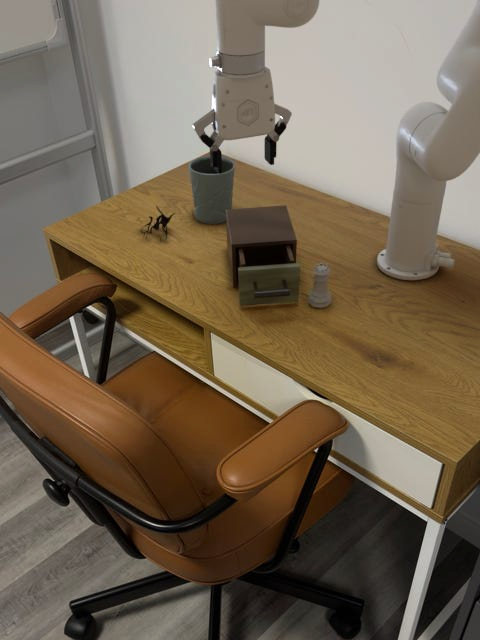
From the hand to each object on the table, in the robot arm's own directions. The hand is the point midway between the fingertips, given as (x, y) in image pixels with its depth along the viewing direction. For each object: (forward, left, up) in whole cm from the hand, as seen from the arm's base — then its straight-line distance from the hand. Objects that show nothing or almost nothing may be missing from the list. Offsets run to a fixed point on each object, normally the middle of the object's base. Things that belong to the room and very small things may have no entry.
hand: (243, 166), depth 124 cm
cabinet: (0, -8, -24) cm, 26 cm away
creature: (+27, -12, -25) cm, 39 cm away
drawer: (-5, +2, -24) cm, 24 cm away
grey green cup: (+19, -25, -25) cm, 40 cm away
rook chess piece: (-16, 0, -25) cm, 29 cm away
